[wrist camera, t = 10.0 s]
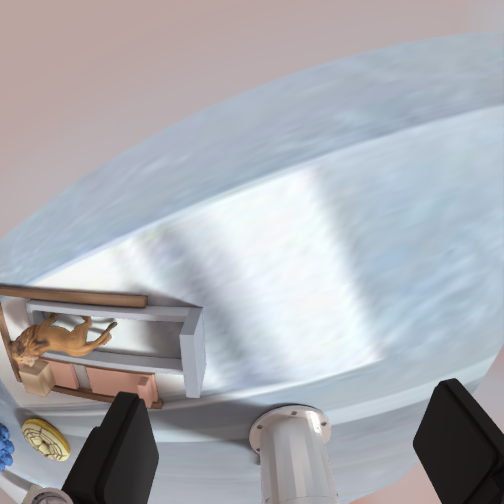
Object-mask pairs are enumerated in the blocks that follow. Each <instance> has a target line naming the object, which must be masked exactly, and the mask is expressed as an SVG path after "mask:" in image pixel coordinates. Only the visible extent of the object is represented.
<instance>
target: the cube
mask: <svg viewBox="0 0 504 504" xmlns="http://www.w3.org/2000/svg"><path fill="white" fill-rule="evenodd" d="M19 374H20V376H21V379H22V382H23V384H24V387H25V389H26V392H29V393H32V394H36V395H39V396H43V397H46V395H47V394H48V393H49V392H50V390H51V389H52V388H53V387H54V385H55V384H56V381H55V378H54V375H53V372H52V369H51V366H50V363H49V362H44V361H40V360H35V363H34V364H33V365H32V367H30V366H28V365H27V364H25V365H24V366H23V367H22V368H21V369H20V370H19Z"/></svg>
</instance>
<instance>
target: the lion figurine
mask: <svg viewBox="0 0 504 504" xmlns="http://www.w3.org/2000/svg"><path fill="white" fill-rule="evenodd" d="M82 317H83V319H84V320H86V321H85V322H84V323H82V324H80V325H78V326H76V327H75V329H74V330H72V331H71V332H70V331H68V330H67V329H65V328H62V327H51V324H52V323H54V322H56V320H57V316H56V314H55V313H51V315H50V318H48V319H46V320H44V321H43V322H42V323H41V324H40V325H39V324H37V325H36V324H33V325H31V326H30V327H28V328H27V329H25V331H23V332H22V334H21V335H20V336H18V337H17V339H16V340H15V341H14V342H13V347H12V357H13V358H14V360H16V361H17V362H18V363H19V364H21V363H22V364H23V363H25V364H27V365H28V366H30V367H32V365H33V364H34V363H35V360H36V359H38V357H39V356H40V355H42V354H44V353H45V352H46V351H48V350H53V351H63V352H66V353H67V354H69V355H71V356H74V357H81V356H85V355H86V354H88V353H89V352H90V351H92V350H93V349H95V348H96V347H98V346H100V345H105V344H106V343H107V342H108V341H109V340H110V339H111V335H110V333H109V331H110V330H111V329H112V328H114V327H115V326H116V325H117V322H113V323H111V324H110V325H109V326H108V328H107V329H106V330H105V332H104V333H103V334H102V335H101V336H100V337H99V338H98V339H96V340H95V341H91V342H86V339H87V331H88V328H89V327H90V326H92V320H91V316H84V315H82Z"/></svg>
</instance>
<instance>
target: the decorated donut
mask: <svg viewBox="0 0 504 504" xmlns="http://www.w3.org/2000/svg"><path fill="white" fill-rule="evenodd" d="M22 433H23V435H24V437H25V439H26V440H27V442H28V443H29V444H30V445H31V446H32V447H33V448H34V449H35V450H37V451H38V452H39V453H41V454H42V455H44V456H46V457H47V458H50V459H53V460H57V461H65V460H66V459H67V458H68V457H69V455H70V453H69V452H70V448H69V446H68V443H67V442H66V440H65V439H64V437H63V436H62V435H61V433H60V432H59V431H58V430H57V429H56V428H54V427H53V426H52V425H50V424H49V423H47V422H45V421H43V420H41V419H36V418H35V419H29V420H26V421H25V423H24V424H23V426H22Z"/></svg>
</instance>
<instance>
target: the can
mask: <svg viewBox="0 0 504 504" xmlns="http://www.w3.org/2000/svg"><path fill="white" fill-rule="evenodd" d="M39 489H42V487H40V486H38V485H34V484H32V485H31V487H30V489H29V491H28V493H27V495H26V497H25V498H24V500H23V502H22V504H27V500H28V498H29V497H30V495H31V494H32V493H34V492H35V491H36V490H39Z"/></svg>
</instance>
